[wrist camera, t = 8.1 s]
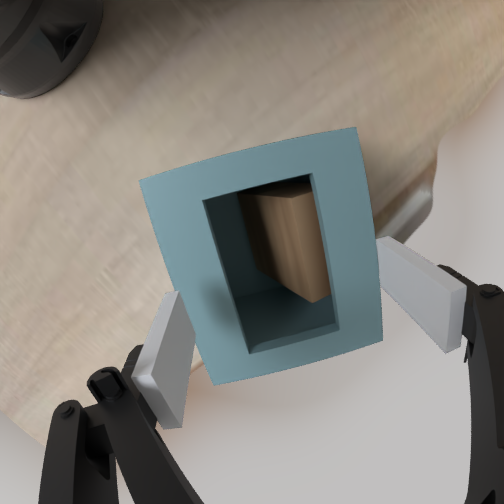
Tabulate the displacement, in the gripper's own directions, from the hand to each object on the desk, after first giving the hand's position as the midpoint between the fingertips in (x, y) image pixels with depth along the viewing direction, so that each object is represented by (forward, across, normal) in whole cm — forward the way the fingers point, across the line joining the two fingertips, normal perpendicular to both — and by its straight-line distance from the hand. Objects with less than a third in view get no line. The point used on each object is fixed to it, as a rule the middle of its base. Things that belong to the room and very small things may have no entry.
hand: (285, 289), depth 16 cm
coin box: (+14, 0, 0) cm, 14 cm away
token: (+13, 0, 0) cm, 13 cm away
